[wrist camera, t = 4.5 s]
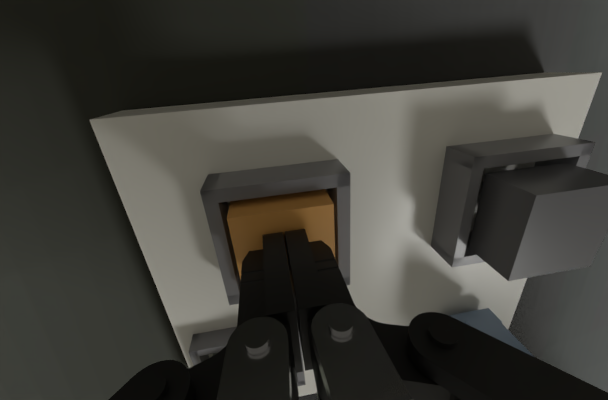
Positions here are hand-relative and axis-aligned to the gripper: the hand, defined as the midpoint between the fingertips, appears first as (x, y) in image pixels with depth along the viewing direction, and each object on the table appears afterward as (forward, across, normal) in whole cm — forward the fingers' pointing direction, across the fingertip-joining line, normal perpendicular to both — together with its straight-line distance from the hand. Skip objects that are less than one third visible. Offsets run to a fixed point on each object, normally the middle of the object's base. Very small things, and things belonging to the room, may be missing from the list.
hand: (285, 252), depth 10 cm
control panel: (+5, -4, +4) cm, 8 cm away
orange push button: (+2, 0, 0) cm, 2 cm away
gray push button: (+1, -10, 0) cm, 10 cm away
